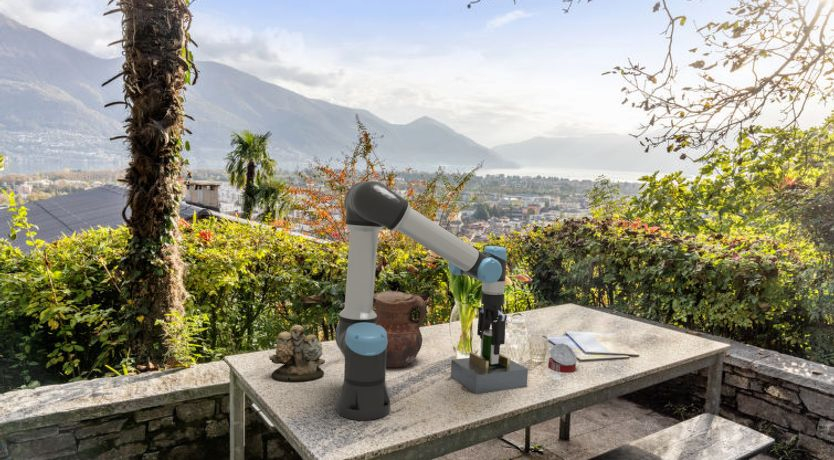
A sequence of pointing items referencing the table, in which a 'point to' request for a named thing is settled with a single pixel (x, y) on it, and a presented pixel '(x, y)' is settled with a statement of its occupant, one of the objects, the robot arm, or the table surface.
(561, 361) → the canned food
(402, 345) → the jug
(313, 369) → the owl figurine
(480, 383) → the grey fixture block
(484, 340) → the beer can
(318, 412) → the table surface
